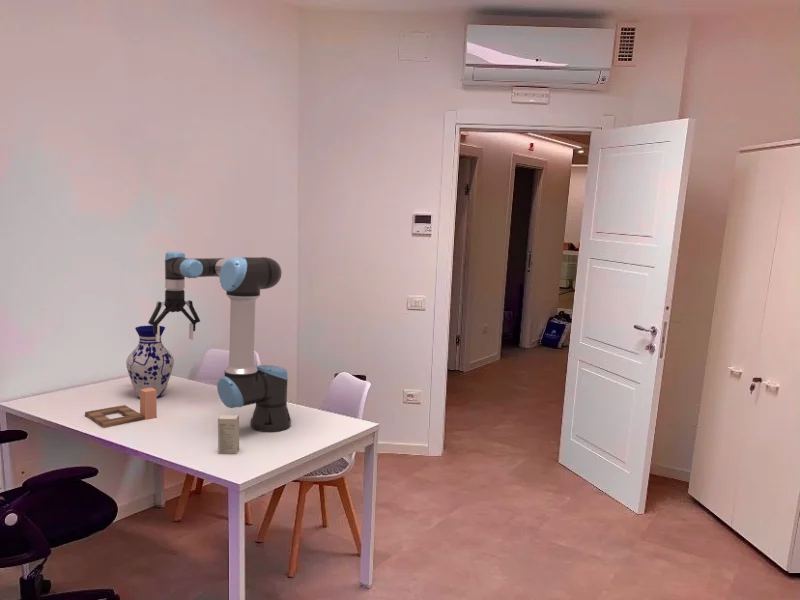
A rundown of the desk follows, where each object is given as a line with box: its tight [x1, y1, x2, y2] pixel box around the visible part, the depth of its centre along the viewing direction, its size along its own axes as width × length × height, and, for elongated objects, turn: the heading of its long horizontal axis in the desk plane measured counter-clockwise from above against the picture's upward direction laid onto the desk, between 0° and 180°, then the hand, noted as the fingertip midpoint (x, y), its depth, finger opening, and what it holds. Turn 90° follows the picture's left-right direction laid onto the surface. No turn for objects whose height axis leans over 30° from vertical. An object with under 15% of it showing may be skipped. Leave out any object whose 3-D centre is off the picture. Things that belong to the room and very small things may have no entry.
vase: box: [126, 324, 175, 399], centre depth 260 cm, size 19×19×30 cm
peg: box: [139, 388, 158, 421], centre depth 233 cm, size 4×4×11 cm
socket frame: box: [84, 404, 144, 429], centre depth 231 cm, size 18×15×2 cm
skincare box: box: [217, 414, 240, 455], centre depth 203 cm, size 6×4×12 cm
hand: (174, 340), depth 250 cm, fingers open, 13 cm apart
